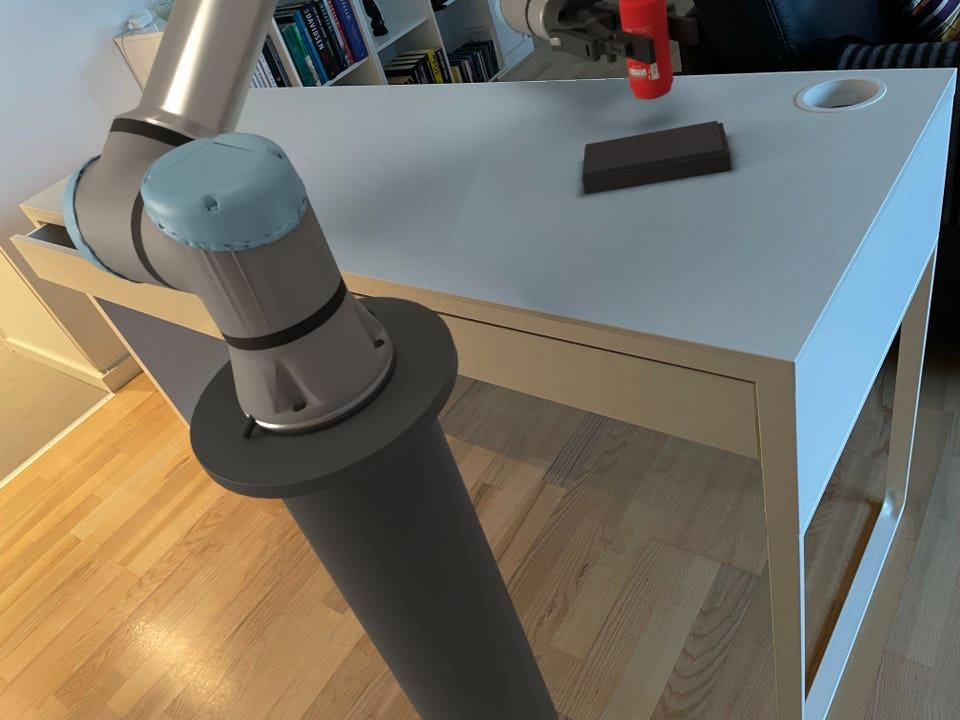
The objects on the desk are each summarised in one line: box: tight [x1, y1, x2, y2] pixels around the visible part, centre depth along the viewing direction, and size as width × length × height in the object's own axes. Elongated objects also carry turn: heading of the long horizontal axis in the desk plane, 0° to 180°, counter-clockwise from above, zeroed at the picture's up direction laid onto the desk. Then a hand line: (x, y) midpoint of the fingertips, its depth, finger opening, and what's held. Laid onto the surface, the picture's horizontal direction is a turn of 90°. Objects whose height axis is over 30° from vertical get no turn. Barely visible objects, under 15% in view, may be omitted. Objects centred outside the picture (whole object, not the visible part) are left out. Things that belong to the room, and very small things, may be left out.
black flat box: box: [581, 120, 732, 194], centre depth 88 cm, size 16×8×2 cm, turn 82°
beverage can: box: [618, 0, 674, 101], centre depth 91 cm, size 5×5×12 cm
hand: (673, 41), depth 87 cm, fingers closed on beverage can, 5 cm apart
